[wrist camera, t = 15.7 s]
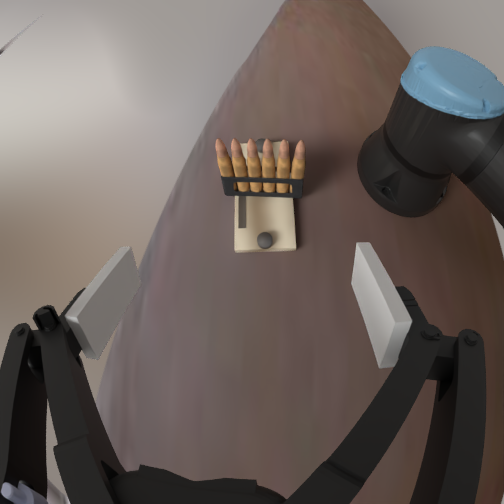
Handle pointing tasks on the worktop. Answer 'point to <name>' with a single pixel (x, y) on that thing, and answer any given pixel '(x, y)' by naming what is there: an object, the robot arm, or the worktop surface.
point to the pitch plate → (264, 217)
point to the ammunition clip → (255, 185)
